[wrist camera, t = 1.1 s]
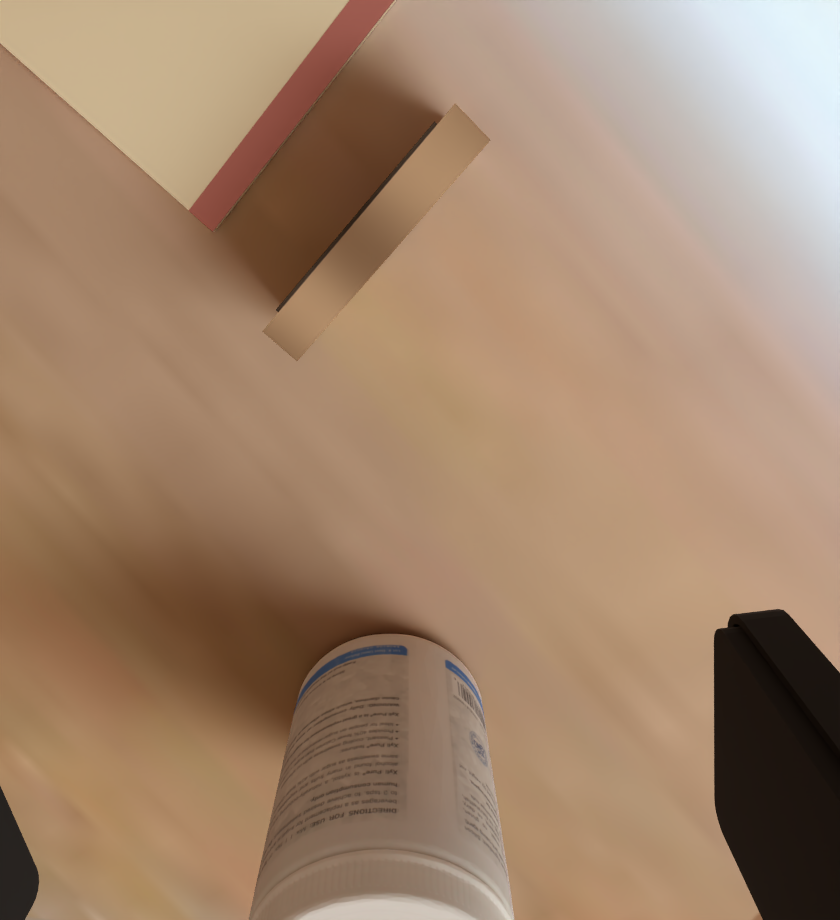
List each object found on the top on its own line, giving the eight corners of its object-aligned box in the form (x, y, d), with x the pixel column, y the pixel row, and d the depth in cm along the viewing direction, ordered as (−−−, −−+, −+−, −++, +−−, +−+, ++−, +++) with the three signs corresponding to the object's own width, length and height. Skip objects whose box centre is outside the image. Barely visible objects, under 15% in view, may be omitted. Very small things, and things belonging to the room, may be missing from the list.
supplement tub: (281, 750, 38) (201, 1061, 24) (325, 603, 35) (263, 864, 21) (452, 792, 39) (470, 1114, 25) (511, 652, 36) (566, 932, 22)
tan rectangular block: (446, 116, 28) (451, 100, 23) (478, 150, 28) (490, 140, 23) (284, 308, 30) (259, 328, 25) (316, 336, 31) (297, 361, 26)
